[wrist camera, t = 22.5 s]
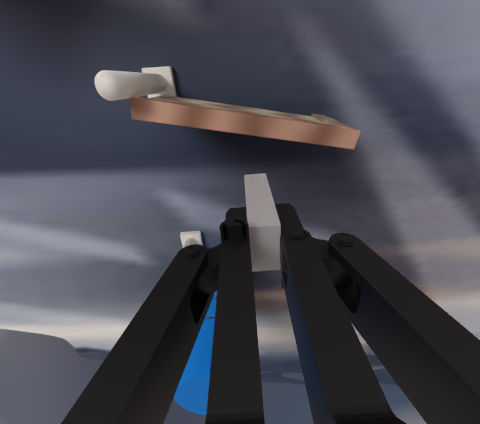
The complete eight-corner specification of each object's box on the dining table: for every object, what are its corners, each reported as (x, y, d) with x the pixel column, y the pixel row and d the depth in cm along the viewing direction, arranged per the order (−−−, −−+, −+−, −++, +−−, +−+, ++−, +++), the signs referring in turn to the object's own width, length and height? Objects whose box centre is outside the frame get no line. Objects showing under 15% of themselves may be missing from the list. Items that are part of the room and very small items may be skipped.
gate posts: (143, 68, 34) (77, 61, 20) (171, 66, 34) (123, 57, 20) (184, 247, 50) (163, 313, 36) (203, 246, 50) (189, 311, 36)
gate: (164, 106, 35) (131, 118, 24) (164, 91, 34) (130, 97, 23) (320, 128, 37) (354, 149, 26) (324, 115, 36) (361, 130, 25)
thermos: (253, 250, 50) (265, 381, 28) (243, 285, 55) (246, 419, 34) (203, 242, 49) (174, 371, 27) (197, 278, 54) (169, 412, 33)
